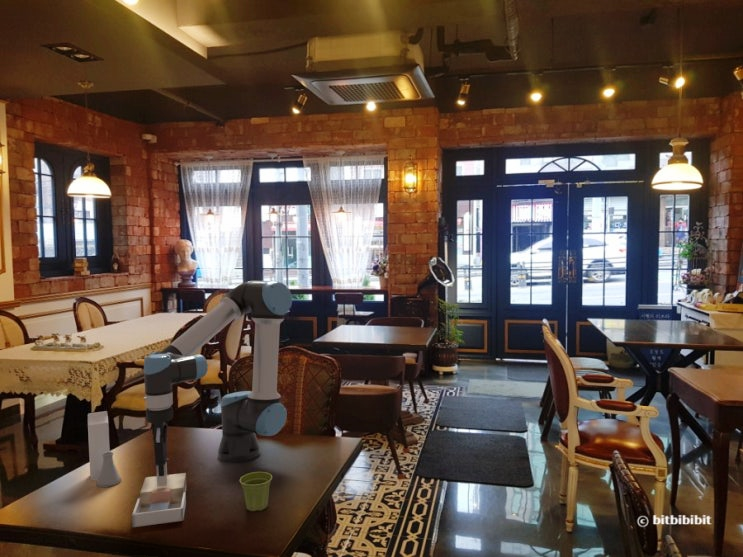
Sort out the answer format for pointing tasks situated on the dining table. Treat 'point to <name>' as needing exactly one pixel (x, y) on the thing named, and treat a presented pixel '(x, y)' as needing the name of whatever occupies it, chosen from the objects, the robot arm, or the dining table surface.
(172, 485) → the cream square tray
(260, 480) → the plant pot
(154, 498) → the terracotta tile
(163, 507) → the slate tile
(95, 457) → the milk
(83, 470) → the dining table surface
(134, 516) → the box
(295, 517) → the dining table surface
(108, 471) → the flask
